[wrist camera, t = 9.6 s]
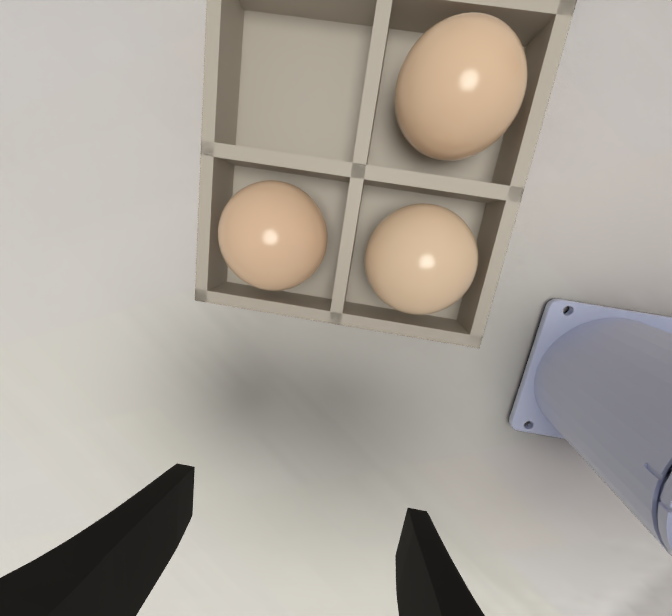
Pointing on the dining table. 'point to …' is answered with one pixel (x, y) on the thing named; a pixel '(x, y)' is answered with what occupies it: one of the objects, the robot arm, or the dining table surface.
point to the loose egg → (461, 86)
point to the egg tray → (356, 146)
